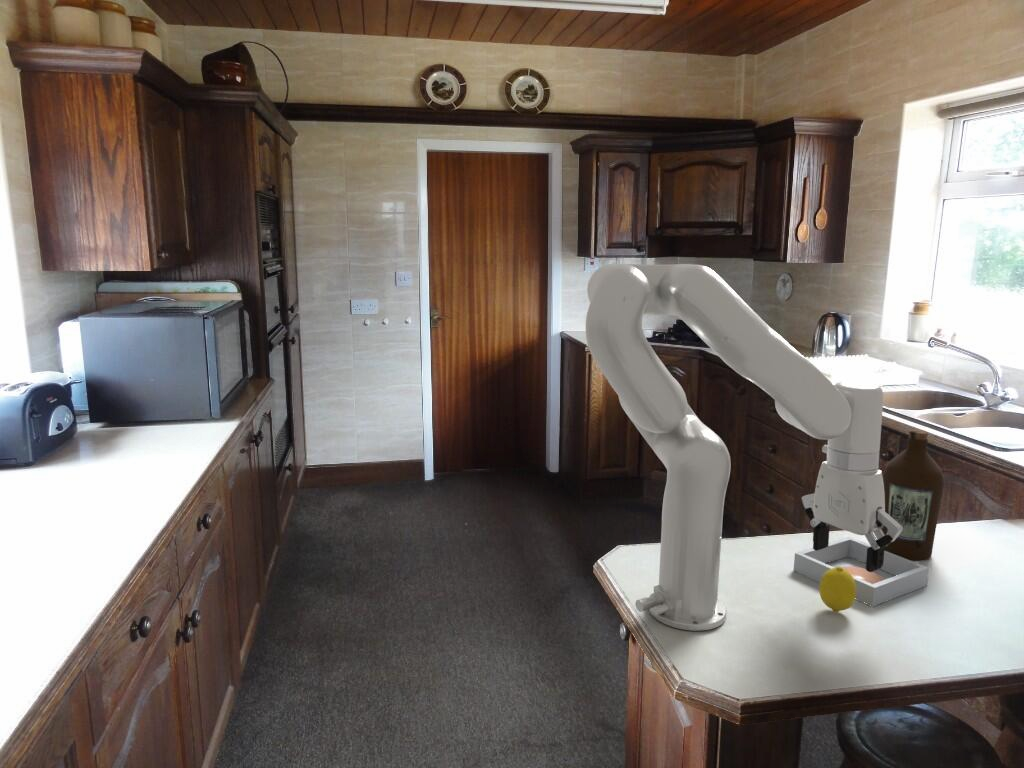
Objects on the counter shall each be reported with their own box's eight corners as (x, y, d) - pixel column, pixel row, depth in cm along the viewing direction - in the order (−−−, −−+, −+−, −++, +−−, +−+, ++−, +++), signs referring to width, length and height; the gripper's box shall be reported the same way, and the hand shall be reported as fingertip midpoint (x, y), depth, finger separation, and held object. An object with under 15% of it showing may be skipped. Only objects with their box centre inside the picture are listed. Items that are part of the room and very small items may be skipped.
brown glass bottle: (878, 536, 149) (890, 422, 145) (936, 548, 144) (951, 429, 139) (871, 554, 140) (885, 433, 136) (933, 567, 135) (949, 441, 130)
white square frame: (872, 607, 119) (874, 587, 119) (793, 570, 133) (795, 552, 132) (926, 585, 127) (929, 567, 127) (847, 553, 141) (848, 536, 140)
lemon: (859, 620, 115) (864, 575, 113) (825, 620, 115) (830, 574, 114) (844, 604, 120) (849, 560, 119) (812, 603, 120) (816, 559, 119)
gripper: (791, 450, 118) (787, 545, 122) (889, 477, 104) (881, 585, 107) (820, 443, 122) (815, 536, 125) (919, 468, 107) (911, 572, 110)
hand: (846, 558), depth 116 cm, fingers open, 9 cm apart
